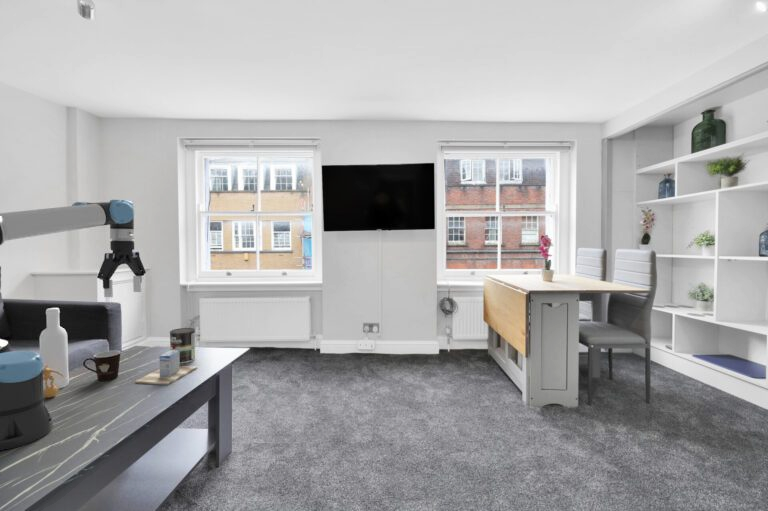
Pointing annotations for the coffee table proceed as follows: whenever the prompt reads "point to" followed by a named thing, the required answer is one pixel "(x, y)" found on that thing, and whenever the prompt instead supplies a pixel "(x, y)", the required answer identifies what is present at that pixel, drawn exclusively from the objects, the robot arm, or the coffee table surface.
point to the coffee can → (183, 343)
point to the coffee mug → (106, 365)
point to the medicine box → (169, 363)
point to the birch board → (156, 379)
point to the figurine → (51, 390)
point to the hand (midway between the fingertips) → (123, 294)
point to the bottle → (54, 349)
